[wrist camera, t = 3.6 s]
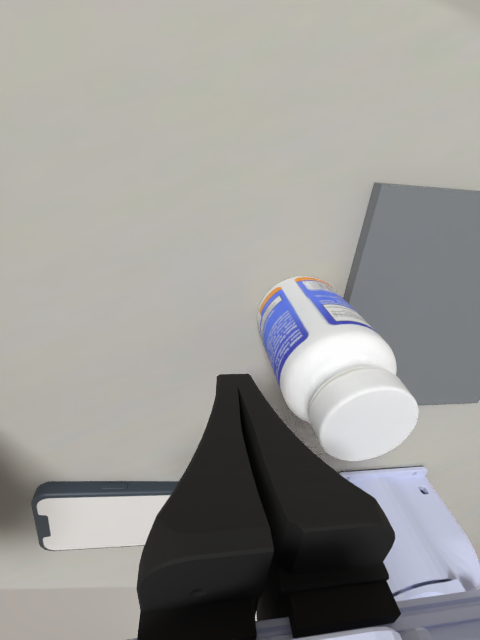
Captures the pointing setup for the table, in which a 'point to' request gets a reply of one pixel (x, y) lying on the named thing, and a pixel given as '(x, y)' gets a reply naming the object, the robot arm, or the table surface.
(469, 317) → the rubber mat
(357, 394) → the pill bottle
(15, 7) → the table surface
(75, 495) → the smartphone
